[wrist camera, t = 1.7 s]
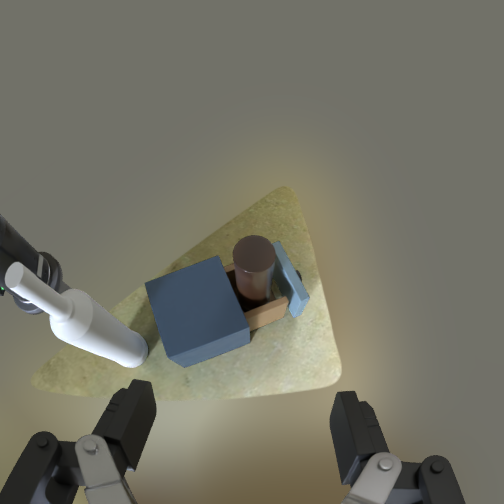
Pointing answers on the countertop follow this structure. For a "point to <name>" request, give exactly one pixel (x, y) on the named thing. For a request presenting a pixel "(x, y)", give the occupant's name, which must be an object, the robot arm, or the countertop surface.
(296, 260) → the countertop surface
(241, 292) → the pepper mill
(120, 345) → the bottle
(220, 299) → the cabinet
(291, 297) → the drawer
